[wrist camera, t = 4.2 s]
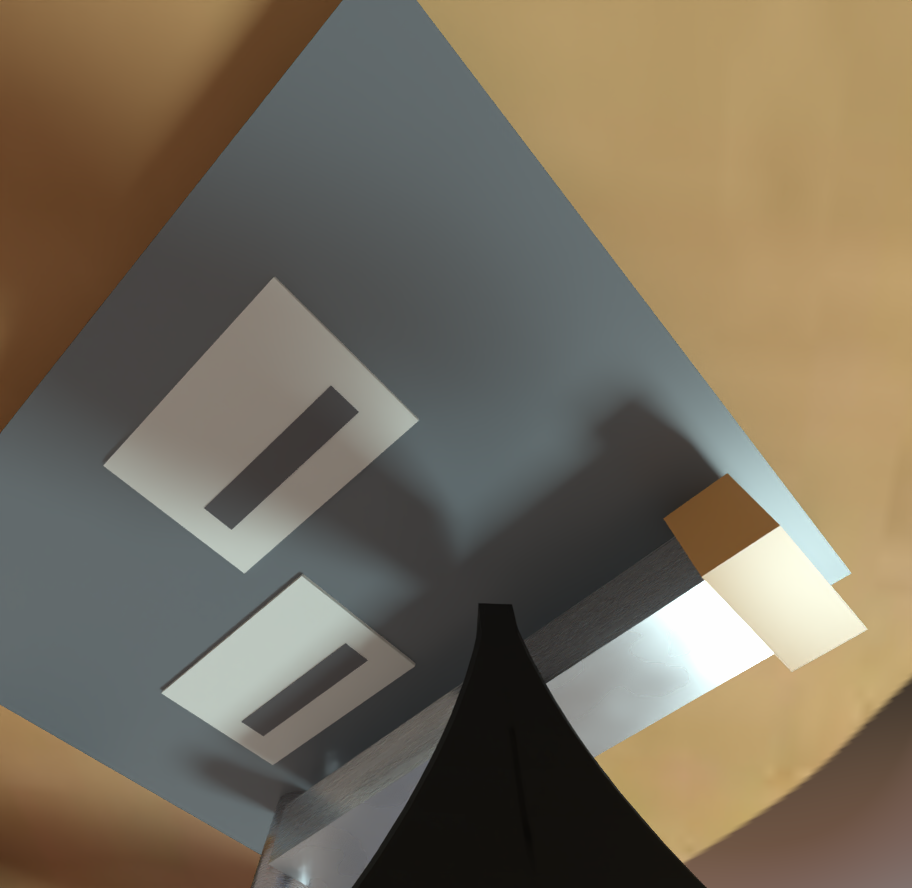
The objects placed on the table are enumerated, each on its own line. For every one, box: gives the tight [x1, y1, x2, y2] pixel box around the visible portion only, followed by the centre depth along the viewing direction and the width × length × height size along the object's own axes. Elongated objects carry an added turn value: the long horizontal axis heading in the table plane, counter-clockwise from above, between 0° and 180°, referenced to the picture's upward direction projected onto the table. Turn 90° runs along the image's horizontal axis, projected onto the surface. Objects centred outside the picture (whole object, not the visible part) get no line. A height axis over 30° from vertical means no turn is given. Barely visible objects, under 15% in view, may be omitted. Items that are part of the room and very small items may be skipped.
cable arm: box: [268, 473, 867, 888], centre depth 13 cm, size 15×3×2 cm, turn 134°
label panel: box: [0, 0, 851, 888], centre depth 13 cm, size 20×16×4 cm
